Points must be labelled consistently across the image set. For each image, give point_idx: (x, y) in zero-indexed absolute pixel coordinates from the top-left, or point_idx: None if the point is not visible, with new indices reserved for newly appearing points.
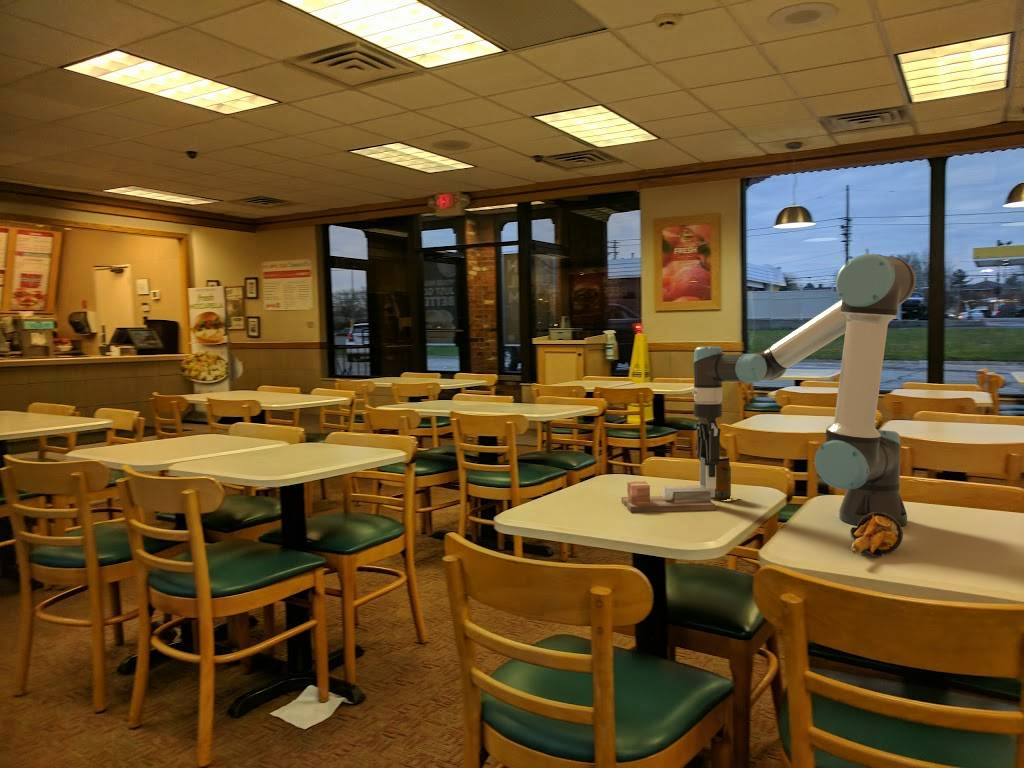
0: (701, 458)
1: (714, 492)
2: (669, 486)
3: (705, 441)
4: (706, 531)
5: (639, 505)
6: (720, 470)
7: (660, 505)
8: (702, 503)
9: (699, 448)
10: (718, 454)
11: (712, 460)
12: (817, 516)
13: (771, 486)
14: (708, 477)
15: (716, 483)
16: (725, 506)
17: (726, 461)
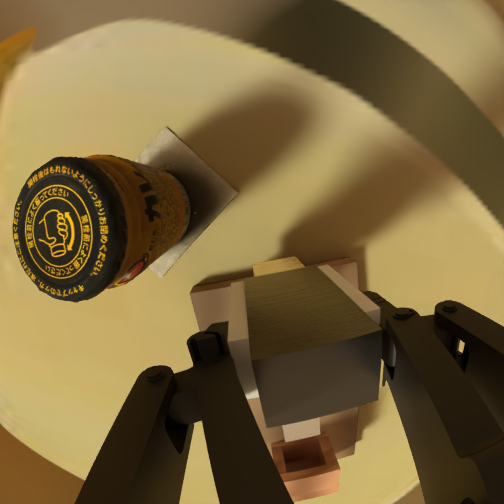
0: (294, 415)
1: (300, 262)
2: (285, 426)
3: (428, 500)
4: (499, 298)
5: (344, 445)
6: (160, 228)
7: (352, 410)
8: None
9: (182, 467)
10: (496, 330)
11: (457, 351)
12: (388, 4)
13: (17, 52)
14: None
15: (173, 239)
16: (295, 211)
17: (115, 184)
